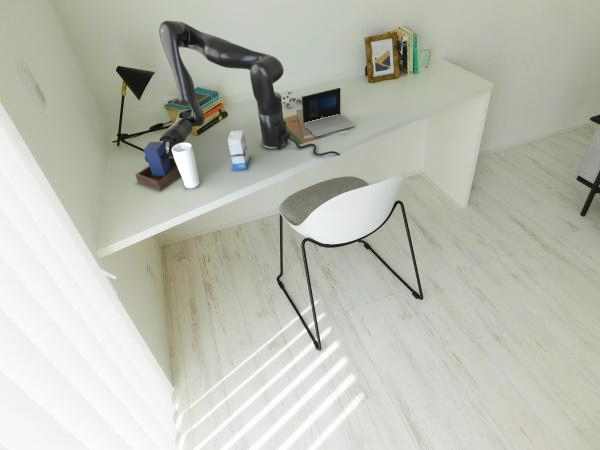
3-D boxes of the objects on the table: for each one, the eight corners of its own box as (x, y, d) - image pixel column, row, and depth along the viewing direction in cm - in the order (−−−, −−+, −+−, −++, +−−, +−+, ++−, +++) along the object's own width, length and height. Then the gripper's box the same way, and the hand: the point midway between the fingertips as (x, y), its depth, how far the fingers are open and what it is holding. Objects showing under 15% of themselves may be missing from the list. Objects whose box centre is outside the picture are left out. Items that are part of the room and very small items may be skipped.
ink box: (246, 169, 146) (241, 141, 139) (232, 170, 147) (227, 141, 139) (249, 157, 153) (244, 129, 145) (236, 158, 153) (231, 130, 146)
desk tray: (189, 170, 149) (187, 162, 146) (160, 190, 139) (157, 182, 137) (167, 163, 154) (164, 155, 151) (138, 182, 144) (135, 174, 142)
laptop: (315, 138, 161) (314, 107, 153) (303, 126, 170) (301, 96, 162) (354, 127, 166) (355, 97, 158) (340, 116, 175) (340, 87, 167)
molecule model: (306, 108, 188) (306, 90, 187) (287, 107, 181) (287, 88, 179) (298, 109, 193) (298, 92, 191) (278, 108, 186) (278, 90, 184)
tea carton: (172, 168, 147) (163, 142, 140) (165, 176, 143) (156, 150, 136) (159, 167, 148) (150, 141, 141) (153, 176, 144) (143, 149, 137)
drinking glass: (184, 180, 144) (173, 143, 134) (203, 178, 144) (193, 141, 134) (181, 191, 138) (169, 153, 129) (201, 189, 139) (190, 151, 129)
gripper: (154, 127, 151) (131, 150, 138) (189, 128, 148) (169, 152, 135) (160, 145, 156) (138, 168, 143) (194, 146, 153) (175, 170, 140)
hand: (154, 160), depth 139 cm, fingers closed on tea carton, 5 cm apart
